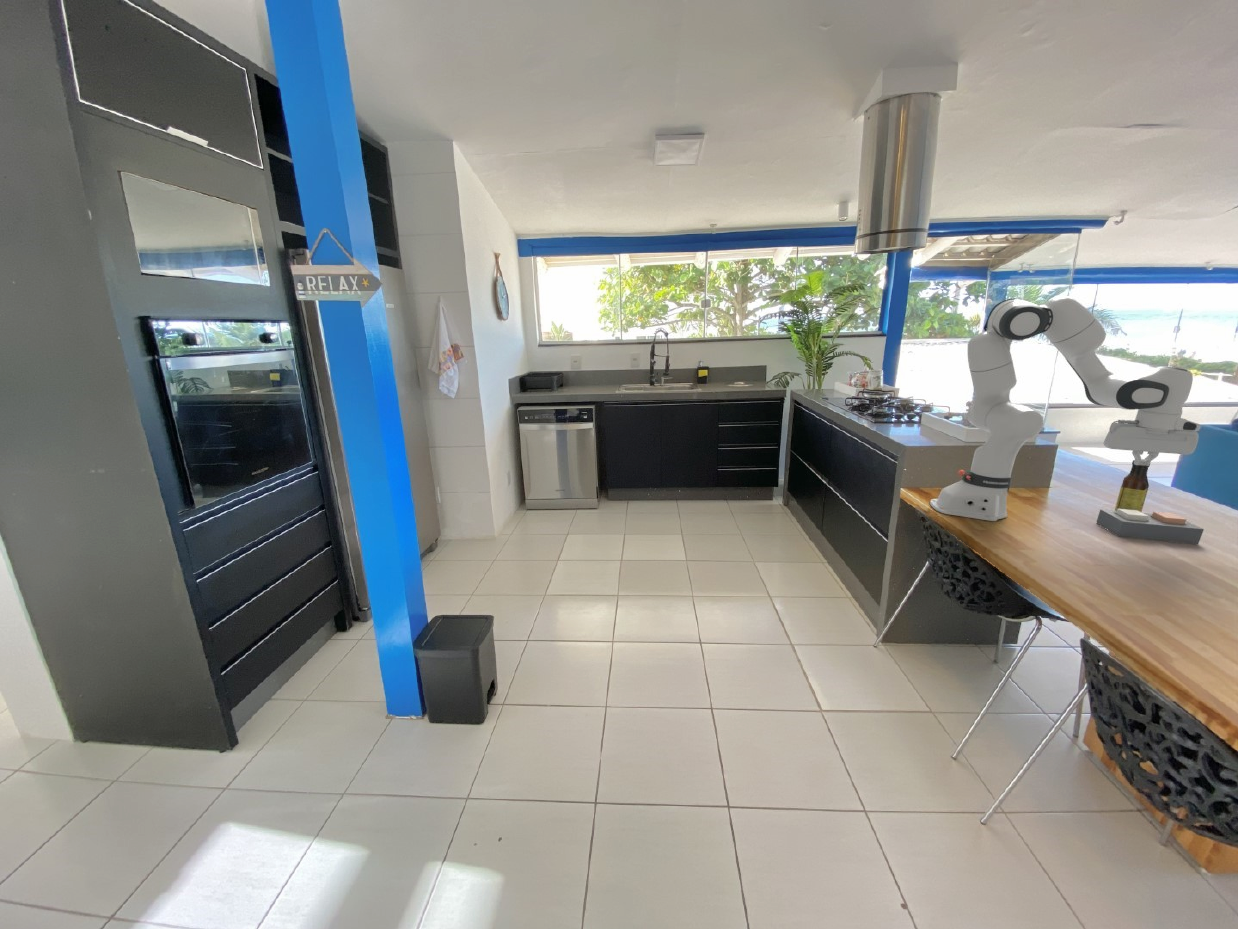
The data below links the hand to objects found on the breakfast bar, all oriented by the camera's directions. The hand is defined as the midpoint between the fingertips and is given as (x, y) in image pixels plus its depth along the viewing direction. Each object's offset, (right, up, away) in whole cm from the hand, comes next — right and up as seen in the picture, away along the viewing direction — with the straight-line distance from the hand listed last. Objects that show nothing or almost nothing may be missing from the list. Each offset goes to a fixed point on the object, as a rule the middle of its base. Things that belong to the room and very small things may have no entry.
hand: (1141, 465), depth 145 cm
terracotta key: (+9, -20, +1) cm, 22 cm away
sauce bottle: (+14, -18, +17) cm, 28 cm away
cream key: (+1, -19, +4) cm, 19 cm away
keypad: (+5, -22, +3) cm, 23 cm away
